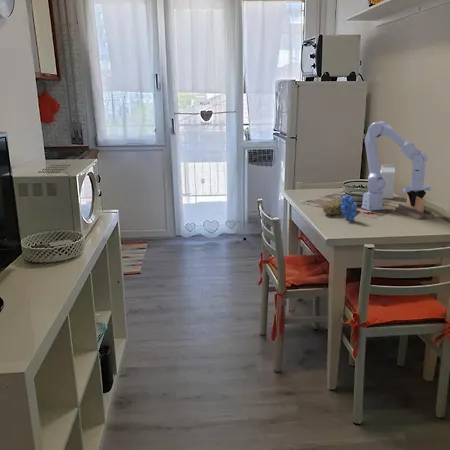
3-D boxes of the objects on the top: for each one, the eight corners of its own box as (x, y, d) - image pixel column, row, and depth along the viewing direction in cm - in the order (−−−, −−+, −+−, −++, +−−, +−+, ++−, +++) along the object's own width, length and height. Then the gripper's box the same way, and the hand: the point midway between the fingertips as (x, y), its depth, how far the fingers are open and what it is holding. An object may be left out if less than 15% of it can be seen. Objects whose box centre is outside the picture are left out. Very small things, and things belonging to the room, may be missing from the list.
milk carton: (392, 198, 261) (395, 165, 256) (379, 198, 263) (382, 165, 257) (391, 196, 268) (393, 163, 262) (378, 195, 269) (380, 163, 264)
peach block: (418, 213, 225) (420, 199, 223) (405, 208, 234) (407, 195, 232) (423, 213, 225) (424, 199, 223) (410, 208, 234) (411, 194, 232)
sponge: (343, 210, 245) (312, 206, 236) (348, 196, 242) (317, 192, 234) (358, 220, 234) (326, 217, 225) (363, 206, 231) (331, 202, 223)
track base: (418, 219, 220) (418, 213, 220) (395, 210, 237) (395, 204, 236) (434, 217, 223) (435, 211, 222) (410, 208, 239) (410, 203, 238)
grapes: (332, 217, 225) (334, 193, 222) (344, 216, 228) (345, 192, 224) (347, 224, 215) (349, 198, 212) (359, 222, 217) (361, 197, 214)
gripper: (410, 180, 219) (407, 208, 223) (436, 178, 223) (433, 206, 227) (400, 178, 226) (398, 205, 230) (426, 176, 229) (423, 203, 233)
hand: (415, 205), depth 229 cm, fingers closed on peach block, 2 cm apart
